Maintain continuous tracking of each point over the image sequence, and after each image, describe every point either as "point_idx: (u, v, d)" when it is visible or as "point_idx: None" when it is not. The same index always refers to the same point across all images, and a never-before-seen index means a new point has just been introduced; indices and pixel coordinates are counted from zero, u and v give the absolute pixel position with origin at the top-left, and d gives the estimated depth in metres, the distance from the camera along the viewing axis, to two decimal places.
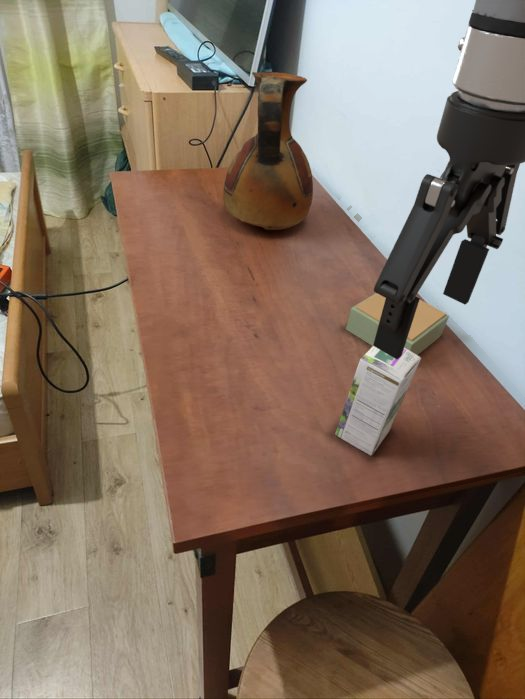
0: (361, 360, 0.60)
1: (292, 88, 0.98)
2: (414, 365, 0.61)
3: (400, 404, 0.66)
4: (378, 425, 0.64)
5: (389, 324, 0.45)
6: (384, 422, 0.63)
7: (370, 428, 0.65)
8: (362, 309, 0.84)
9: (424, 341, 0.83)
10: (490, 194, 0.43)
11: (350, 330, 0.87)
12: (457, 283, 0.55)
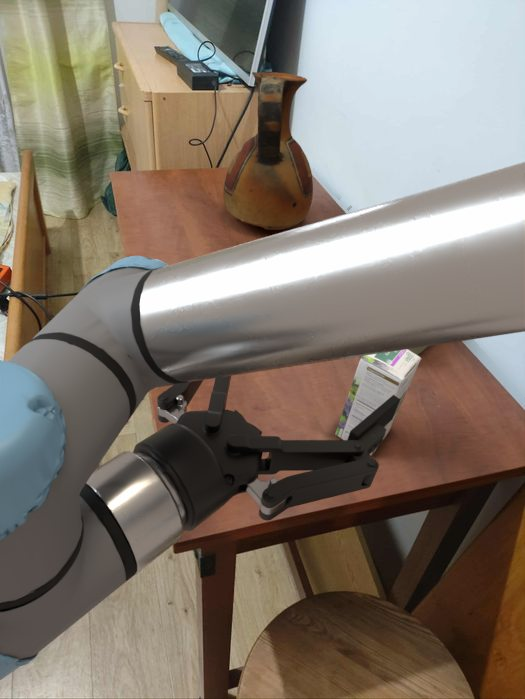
0: (361, 360, 0.60)
1: (292, 88, 0.98)
2: (414, 365, 0.61)
3: (400, 404, 0.66)
4: None
5: (382, 438, 0.43)
6: None
7: None
8: None
9: None
10: (221, 418, 0.41)
11: None
12: None
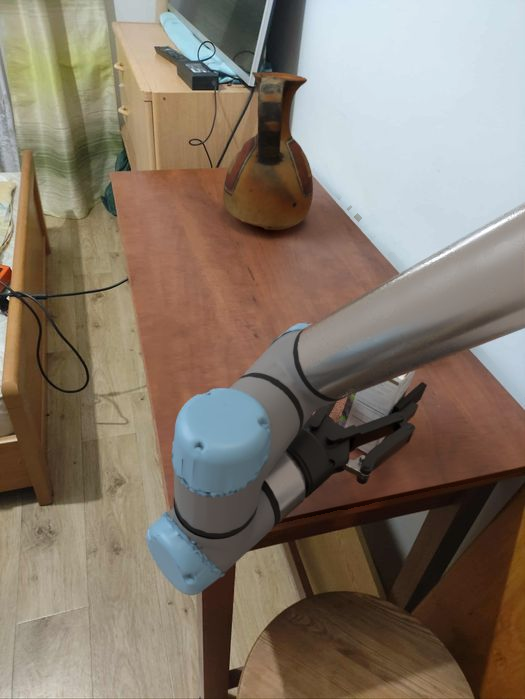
0: None
1: (292, 88, 0.98)
2: None
3: None
4: None
5: (415, 411, 0.63)
6: None
7: None
8: None
9: None
10: None
11: None
12: None
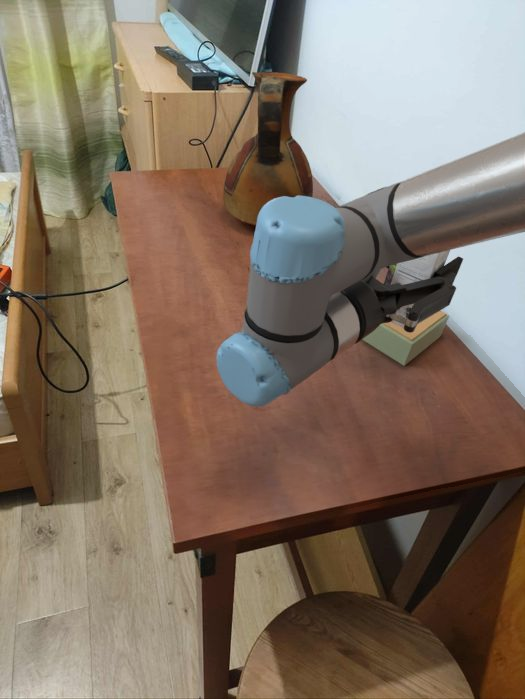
0: None
1: (292, 88, 0.98)
2: None
3: None
4: None
5: (454, 279, 0.66)
6: None
7: None
8: None
9: (424, 341, 0.83)
10: None
11: None
12: None
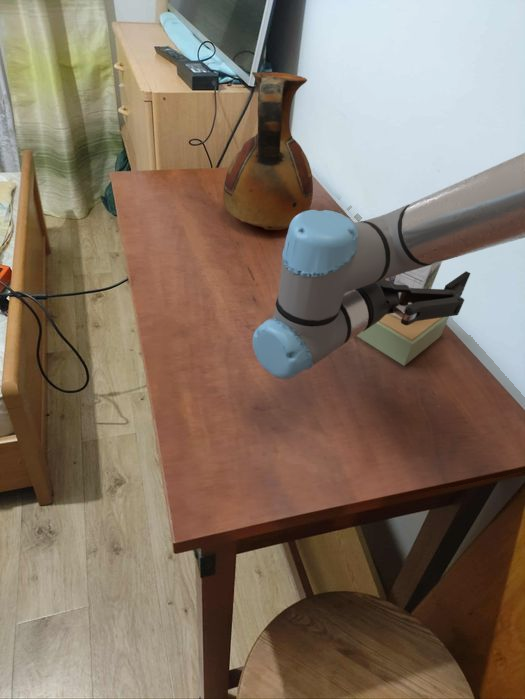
0: None
1: (292, 88, 0.98)
2: None
3: (434, 279, 0.81)
4: None
5: (462, 292, 0.75)
6: (422, 288, 0.78)
7: None
8: None
9: (424, 341, 0.83)
10: None
11: None
12: None
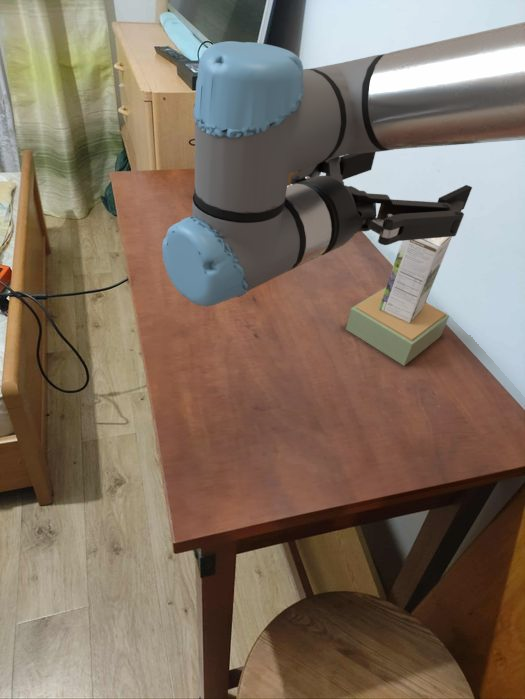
0: None
1: None
2: (447, 239, 0.76)
3: (434, 279, 0.81)
4: (417, 292, 0.79)
5: (461, 208, 0.57)
6: (422, 288, 0.78)
7: (409, 297, 0.80)
8: (362, 309, 0.84)
9: (424, 341, 0.83)
10: None
11: (350, 330, 0.87)
12: (364, 164, 0.65)
